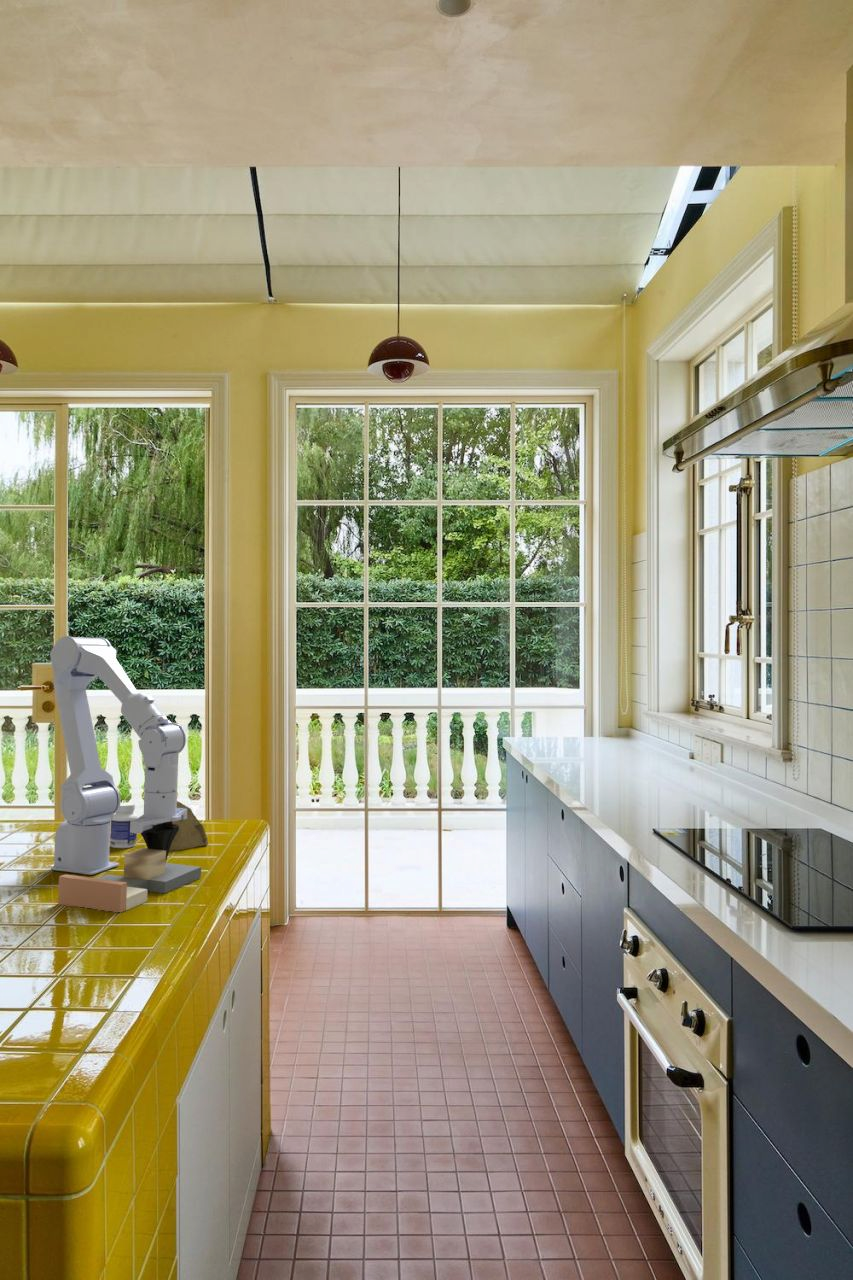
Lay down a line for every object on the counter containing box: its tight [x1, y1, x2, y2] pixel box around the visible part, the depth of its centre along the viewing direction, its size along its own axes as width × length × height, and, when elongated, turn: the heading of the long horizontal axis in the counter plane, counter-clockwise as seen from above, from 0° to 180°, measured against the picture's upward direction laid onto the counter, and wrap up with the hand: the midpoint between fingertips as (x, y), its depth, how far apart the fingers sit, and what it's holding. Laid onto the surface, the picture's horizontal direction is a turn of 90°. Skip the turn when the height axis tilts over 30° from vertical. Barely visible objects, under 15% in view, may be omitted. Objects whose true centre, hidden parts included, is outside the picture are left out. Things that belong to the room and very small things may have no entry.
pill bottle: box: [110, 802, 138, 849], centre depth 179 cm, size 5×5×9 cm
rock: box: [169, 800, 209, 852], centre depth 178 cm, size 11×9×10 cm
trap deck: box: [57, 862, 202, 913], centre depth 146 cm, size 12×23×4 cm, turn 162°
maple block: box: [123, 847, 167, 880], centre depth 149 cm, size 5×5×4 cm
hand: (158, 865), depth 153 cm, fingers closed
